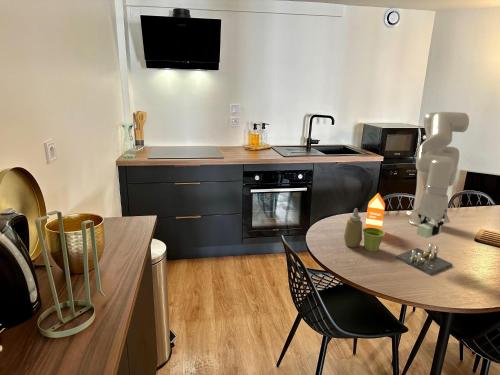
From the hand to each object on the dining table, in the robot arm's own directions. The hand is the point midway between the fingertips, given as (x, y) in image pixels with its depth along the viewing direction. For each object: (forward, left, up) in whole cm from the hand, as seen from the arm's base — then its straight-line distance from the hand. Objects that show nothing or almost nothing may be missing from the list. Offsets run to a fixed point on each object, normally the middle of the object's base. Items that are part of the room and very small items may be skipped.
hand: (428, 232), depth 143 cm
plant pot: (-19, -10, -14) cm, 26 cm away
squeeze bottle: (-26, -15, -14) cm, 33 cm away
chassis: (0, 0, -14) cm, 14 cm away
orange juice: (-31, +5, -14) cm, 35 cm away
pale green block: (0, 0, -1) cm, 1 cm away
